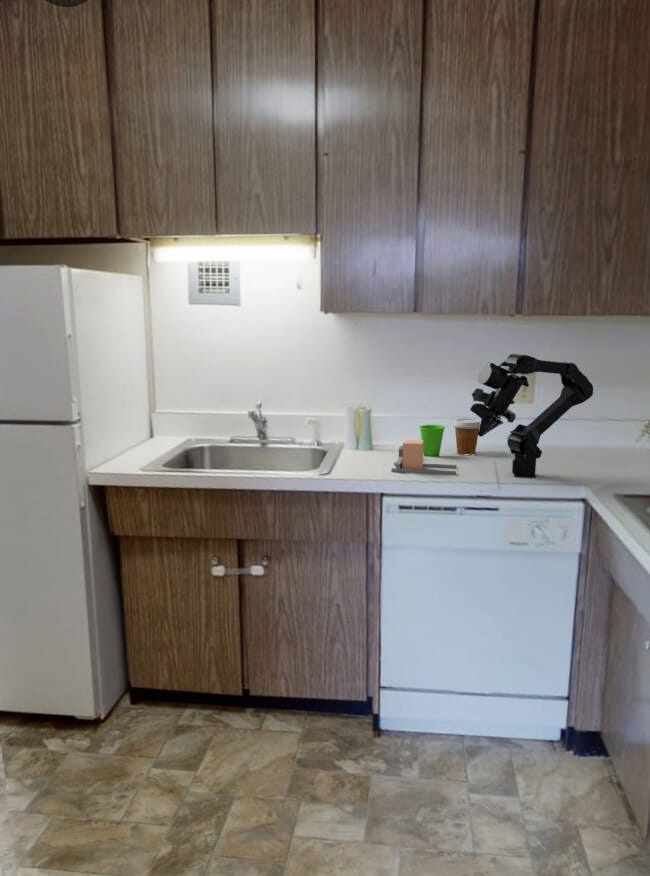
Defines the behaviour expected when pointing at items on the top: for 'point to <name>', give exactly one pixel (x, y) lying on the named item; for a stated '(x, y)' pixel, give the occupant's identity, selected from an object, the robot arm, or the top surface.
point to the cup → (431, 439)
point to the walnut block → (401, 451)
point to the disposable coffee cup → (466, 435)
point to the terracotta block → (413, 454)
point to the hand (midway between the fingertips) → (479, 435)
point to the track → (400, 464)
